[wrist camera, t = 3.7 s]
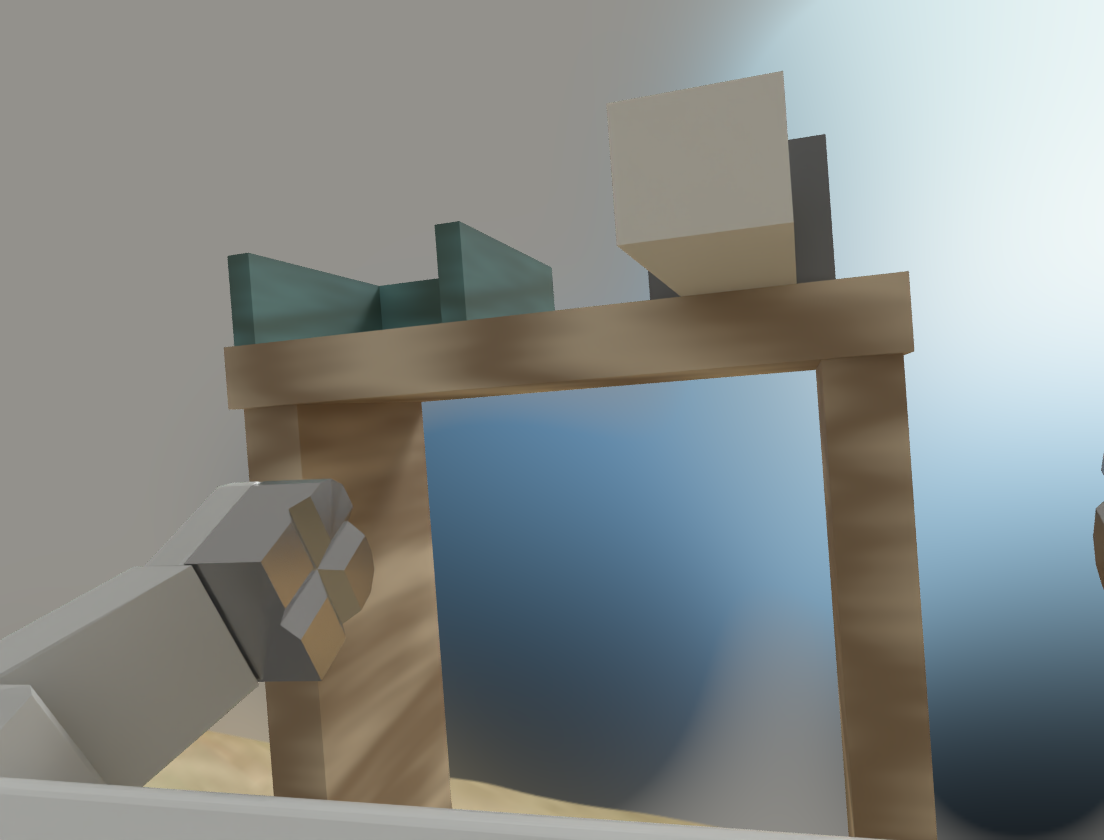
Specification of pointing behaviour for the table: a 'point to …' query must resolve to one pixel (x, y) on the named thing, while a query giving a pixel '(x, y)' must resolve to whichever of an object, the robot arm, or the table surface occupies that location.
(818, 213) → the beige and grey block
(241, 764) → the table surface
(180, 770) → the table surface
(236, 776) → the table surface
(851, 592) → the brown and teal frame
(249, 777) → the table surface
